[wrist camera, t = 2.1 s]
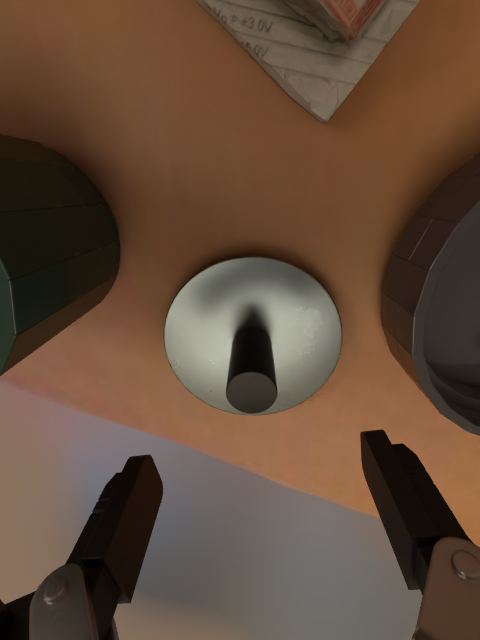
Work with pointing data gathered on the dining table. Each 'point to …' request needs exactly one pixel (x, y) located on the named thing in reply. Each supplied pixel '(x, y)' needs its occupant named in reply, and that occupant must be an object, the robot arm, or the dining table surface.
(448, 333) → the pan
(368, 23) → the packaged product
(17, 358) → the pot
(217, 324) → the lid
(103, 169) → the dining table surface
